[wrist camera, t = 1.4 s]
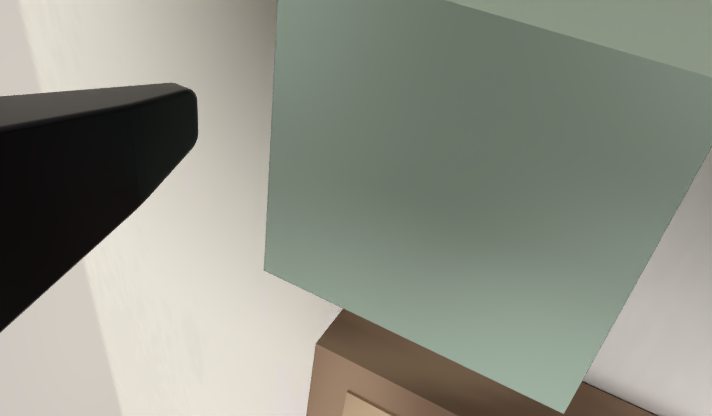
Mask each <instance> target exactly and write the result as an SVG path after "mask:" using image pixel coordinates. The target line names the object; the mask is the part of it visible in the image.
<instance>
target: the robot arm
mask: <svg viewBox="0 0 712 416" xmlns="http://www.w3.org/2000/svg"><path fill="white" fill-rule="evenodd" d="M197 138H198V108H197V97H196V94H195V93H194V92H193V91H192V90H191V89H188V88H186V87H183V86H181V85H178V84H176V83H162V84H149V85H137V86H125V87H112V88H100V89H87V90H75V91H62V92H50V93H38V94H26V95H13V96H1V97H0V332H2V331H3V330H4V329H5V328H6V327H7V326H8V325H9V324H10V323H11V322H13V321H14V320H15V319H16V318H17V317H18V316H19V315H20V314H22V313H23V312H24V311H25V310H26V309H27V308H28V307H29V306H30V305H31V304H32V303H34V302H35V301H36V300H37V299H38V298H39V297H40V296H41V295H43V293H45V292H46V291H47V290H48V289H49V288H50V287H51V286H53V285H54V284H55V283H56V282H57V281H58V280H59V279H60V278H61V277H62V276H64V275H65V274H66V273H67V272H68V271H69V270H70V269H71V268H72V267H73V266H75V265H76V264H77V263H78V262H79V261H80V260H81V259H82V258H83V257H85V256H86V255H87V254H88V253H89V252H90V251H91V250H92V249H93V248H95V247H96V246H97V245H98V244H99V243H100V242H101V241H102V240H103V239H105V238H106V237H107V236H108V235H109V234H110V233H111V232H112V231H113V230H114V229H116V228H117V227H118V226H119V225H120V224H121V223H122V222H123V221H124V220H126V219H127V218H128V217H129V216H130V215H131V214H132V213H133V212H134V211H135V210H136V209H137V208H138V207H139V206H141V204H142V203H143V202H144V201H145V200H146V199H147V198H148V197H149V196H150V195H151V194H152V193H153V192H154V190H155V189H156V188H157V187H158V186H159V185H160V184H161V183H162V182H163V180H164V179H165V178H166V177H167V176H168V175H169V174H170V173H171V172H172V170H173V169H174V168H175V167H176V166H177V165H178V164H179V163H180V162H181V160H182V159H183V158H184V157H185V156H186V155H187V154H188V153H189V151H190V150H191V149H192V148H193V147H194V145H195V143H196V141H197Z"/></svg>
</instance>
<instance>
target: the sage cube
mask: <svg viewBox="0 0 712 416" xmlns="http://www.w3.org/2000/svg"><path fill="white" fill-rule="evenodd" d="M711 147H712V0H278V5H277V24H276V44H275V64H274V83H273V103H272V123H271V142H270V162H269V182H268V202H267V221H266V241H265V261H264V271H266V272H268V273H270V274H273V275H275V276H277V277H279V278H281V279H283V280H285V281H287V282H289V283H291V284H293V285H296V286H298V287H300V288H302V289H304V290H306V291H308V292H310V293H312V294H314V295H316V296H318V297H321V298H323V299H325V300H327V301H329V302H331V303H333V304H335V305H337V306H339V307H341V308H344V309H346V310H348V311H350V312H352V313H354V314H356V315H358V316H360V317H362V318H364V319H367V320H369V321H371V322H373V323H375V324H377V325H379V326H381V327H383V328H385V329H387V330H389V331H392V332H394V333H396V334H398V335H400V336H402V337H404V338H406V339H408V340H410V341H412V342H415V343H417V344H419V345H421V346H423V347H425V348H427V349H429V350H431V351H433V352H435V353H437V354H440V355H442V356H444V357H446V358H448V359H450V360H452V361H454V362H456V363H458V364H460V365H463V366H465V367H467V368H469V369H471V370H473V371H475V372H477V373H479V374H481V375H483V376H486V377H488V378H490V379H492V380H494V381H496V382H498V383H500V384H502V385H504V386H506V387H508V388H511V389H513V390H515V391H517V392H519V393H521V394H523V395H525V396H527V397H529V398H531V399H534V400H536V401H538V402H540V403H542V404H544V405H546V406H548V407H550V408H552V409H554V410H556V411H559V412H561V413H563V414H564V413H565V411H566V409H567V407H568V405H569V404H570V402H571V400H572V398H573V396H574V395H575V393H576V391H577V389H578V387H579V386H580V384H581V382H582V380H583V378H584V376H585V375H586V373H587V371H588V369H589V367H590V366H591V364H592V362H593V360H594V358H595V357H596V355H597V353H598V351H599V349H600V348H601V346H602V344H603V342H604V340H605V339H606V337H607V335H608V333H609V331H610V330H611V328H612V326H613V324H614V322H615V321H616V319H617V317H618V315H619V313H620V311H621V310H622V308H623V306H624V304H625V302H626V301H627V299H628V297H629V295H630V293H631V292H632V290H633V288H634V286H635V284H636V283H637V281H638V279H639V277H640V275H641V274H642V272H643V270H644V268H645V266H646V265H647V263H648V261H649V259H650V257H651V256H652V254H653V252H654V250H655V248H656V246H657V245H658V243H659V241H660V239H661V237H662V236H663V234H664V232H665V230H666V228H667V227H668V225H669V223H670V221H671V219H672V218H673V216H674V214H675V212H676V210H677V209H678V207H679V205H680V203H681V201H682V200H683V198H684V196H685V194H686V192H687V191H688V189H689V187H690V185H691V183H692V181H693V180H694V178H695V176H696V174H697V172H698V171H699V169H700V167H701V165H702V163H703V162H704V160H705V158H706V156H707V154H708V153H709V151H710V149H711Z"/></svg>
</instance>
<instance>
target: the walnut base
mask: <svg viewBox="0 0 712 416" xmlns="http://www.w3.org/2000/svg"><path fill="white" fill-rule="evenodd" d="M306 416H655V415H653V414H651V413H649V412H647V411H644V410H642V409H640V408H638V407H636V406H634V405H631V404H629V403H627V402H625V401H623V400H621V399H618V398H616V397H614V396H612V395H610V394H607V393H605V392H603V391H601V390H599V389H597V388H594V387H592V386H590V385H588V384H586V383H583V382H581V384H580V386H579V387H578V389H577V391H576V393H575V395H574V396H573V398H572V400H571V402H570V404H569V405H568V407H567V409H566V411H565V413H564V414H563V413H561V412H559V411H556V410H554V409H552V408H550V407H548V406H546V405H544V404H542V403H540V402H538V401H536V400H534V399H531V398H529V397H527V396H525V395H523V394H521V393H519V392H517V391H515V390H513V389H511V388H508V387H506V386H504V385H502V384H500V383H498V382H496V381H494V380H492V379H490V378H488V377H486V376H483V375H481V374H479V373H477V372H475V371H473V370H471V369H469V368H467V367H465V366H463V365H460V364H458V363H456V362H454V361H452V360H450V359H448V358H446V357H444V356H442V355H440V354H437V353H435V352H433V351H431V350H429V349H427V348H425V347H423V346H421V345H419V344H417V343H415V342H412V341H410V340H408V339H406V338H404V337H402V336H400V335H398V334H396V333H394V332H392V331H389V330H387V329H385V328H383V327H381V326H379V325H377V324H375V323H373V322H371V321H369V320H367V319H364V318H362V317H360V316H358V315H356V314H354V313H352V312H350V311H348V310H346V309H344V308H343V310H342V311H341V312H340V313H339V315H338V316H337V317H336V319H335V320H334V321H333V322H332V324H331V325H330V326H329V328H328V329H327V330H326V331H325V333H324V334H323V335H322V336H321V338H320V339H319V340H318V342H317V343H316V347H315V354H314V362H313V370H312V377H311V385H310V392H309V400H308V407H307V415H306Z"/></svg>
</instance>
